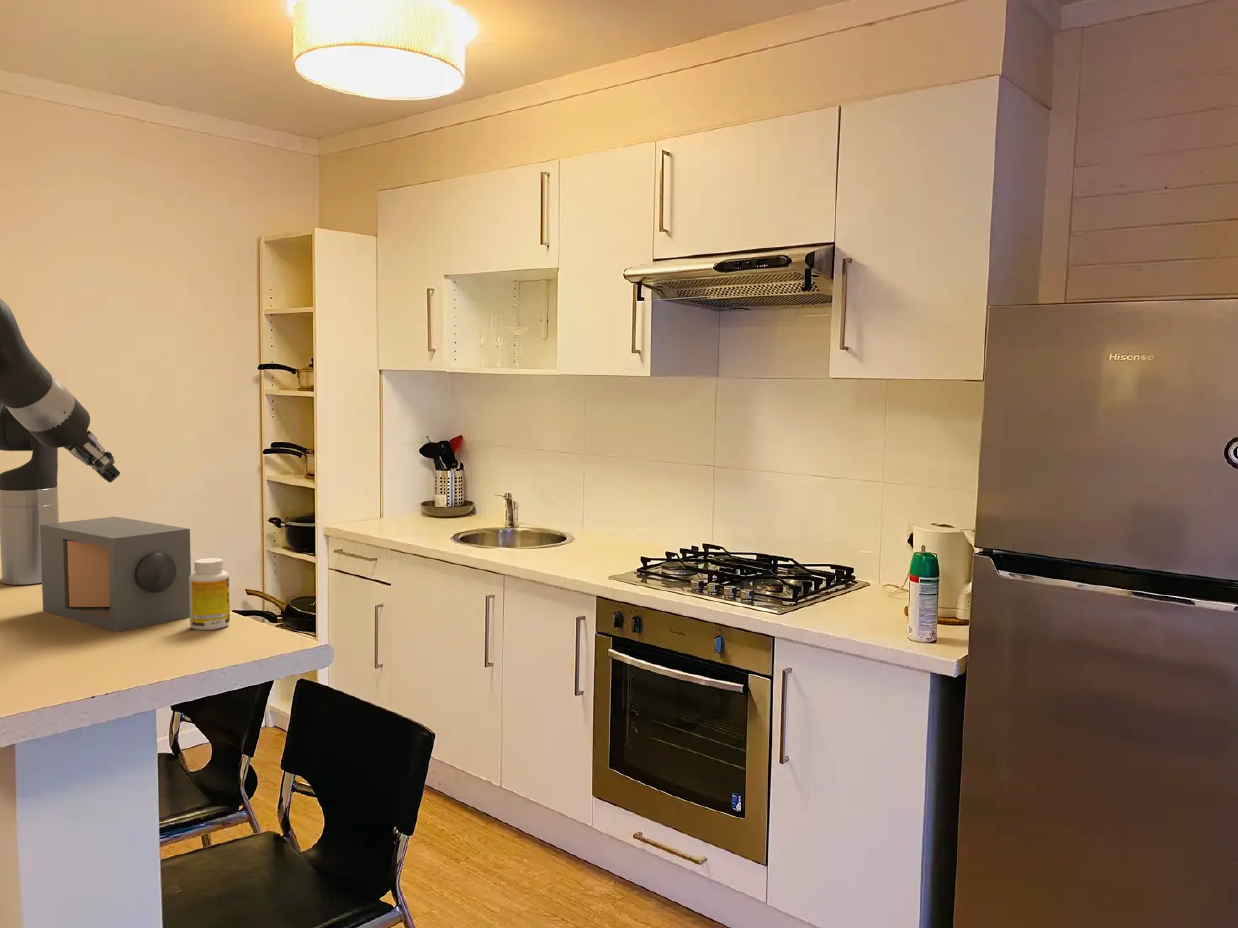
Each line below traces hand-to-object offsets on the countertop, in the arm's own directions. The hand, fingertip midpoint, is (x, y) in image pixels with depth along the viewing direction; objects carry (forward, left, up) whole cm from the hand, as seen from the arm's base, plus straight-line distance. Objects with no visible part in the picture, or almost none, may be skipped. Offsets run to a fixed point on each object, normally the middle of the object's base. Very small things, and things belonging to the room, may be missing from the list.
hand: (112, 476), depth 146 cm
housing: (-1, 0, -22) cm, 22 cm away
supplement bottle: (+18, +4, -22) cm, 29 cm away
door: (+1, -2, -20) cm, 20 cm away
